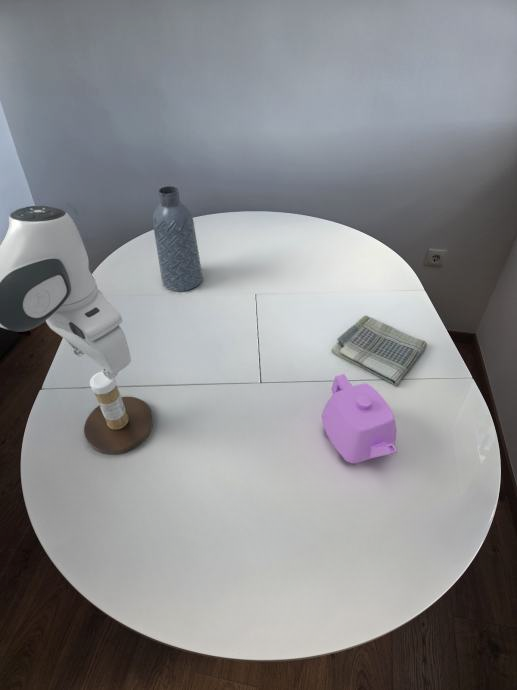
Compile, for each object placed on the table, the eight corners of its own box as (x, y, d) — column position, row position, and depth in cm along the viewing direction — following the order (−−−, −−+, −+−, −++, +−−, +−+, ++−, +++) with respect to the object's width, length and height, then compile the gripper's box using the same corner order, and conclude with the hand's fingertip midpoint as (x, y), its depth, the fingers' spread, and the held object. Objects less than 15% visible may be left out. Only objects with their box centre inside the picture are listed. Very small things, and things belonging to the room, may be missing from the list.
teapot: (306, 413, 93) (310, 373, 85) (356, 396, 97) (365, 356, 88) (354, 493, 80) (365, 455, 71) (410, 470, 83) (427, 431, 74)
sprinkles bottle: (111, 412, 92) (94, 369, 83) (132, 413, 92) (117, 370, 83) (104, 430, 89) (85, 387, 80) (125, 431, 89) (109, 388, 80)
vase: (192, 295, 125) (179, 202, 106) (155, 288, 128) (135, 196, 109) (208, 273, 134) (199, 183, 115) (173, 266, 137) (158, 178, 117)
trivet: (113, 467, 84) (111, 463, 83) (72, 430, 91) (70, 426, 90) (166, 421, 92) (165, 417, 91) (125, 391, 99) (124, 386, 98)
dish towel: (428, 346, 108) (431, 337, 106) (395, 388, 98) (398, 379, 96) (362, 317, 117) (364, 308, 115) (327, 353, 107) (328, 344, 105)
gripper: (20, 289, 72) (48, 349, 82) (93, 340, 63) (115, 401, 72) (54, 273, 76) (77, 332, 85) (128, 318, 66) (144, 379, 76)
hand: (95, 364), depth 79 cm, fingers open, 8 cm apart
